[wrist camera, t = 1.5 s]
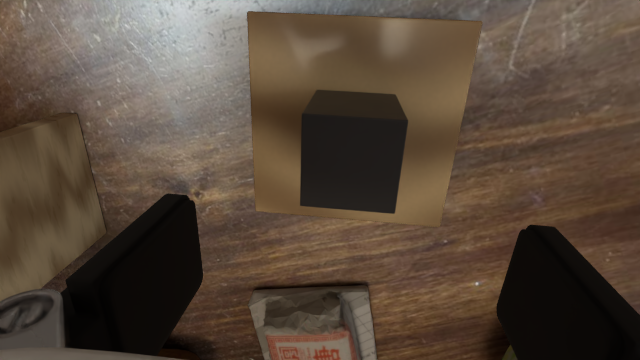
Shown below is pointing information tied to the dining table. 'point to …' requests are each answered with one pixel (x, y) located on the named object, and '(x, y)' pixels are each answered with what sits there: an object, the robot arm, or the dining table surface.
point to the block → (352, 151)
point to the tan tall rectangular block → (44, 202)
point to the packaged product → (314, 323)
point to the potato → (178, 354)
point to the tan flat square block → (359, 76)
